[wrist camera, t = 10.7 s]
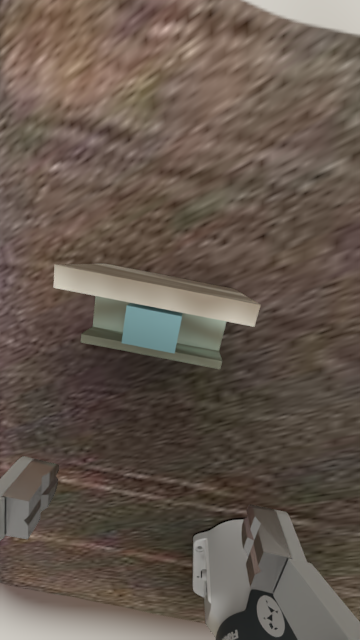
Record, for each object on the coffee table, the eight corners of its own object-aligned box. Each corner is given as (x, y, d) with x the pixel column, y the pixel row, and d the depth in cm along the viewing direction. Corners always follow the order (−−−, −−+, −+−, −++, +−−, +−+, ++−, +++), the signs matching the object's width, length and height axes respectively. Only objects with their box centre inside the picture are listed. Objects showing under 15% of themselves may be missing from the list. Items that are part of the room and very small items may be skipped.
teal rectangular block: (177, 334, 28) (173, 358, 21) (137, 326, 28) (120, 348, 21) (183, 302, 27) (182, 316, 20) (142, 294, 27) (126, 305, 20)
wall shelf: (219, 345, 33) (235, 390, 21) (99, 322, 33) (50, 354, 21) (233, 288, 31) (260, 305, 19) (105, 263, 31) (54, 264, 19)
